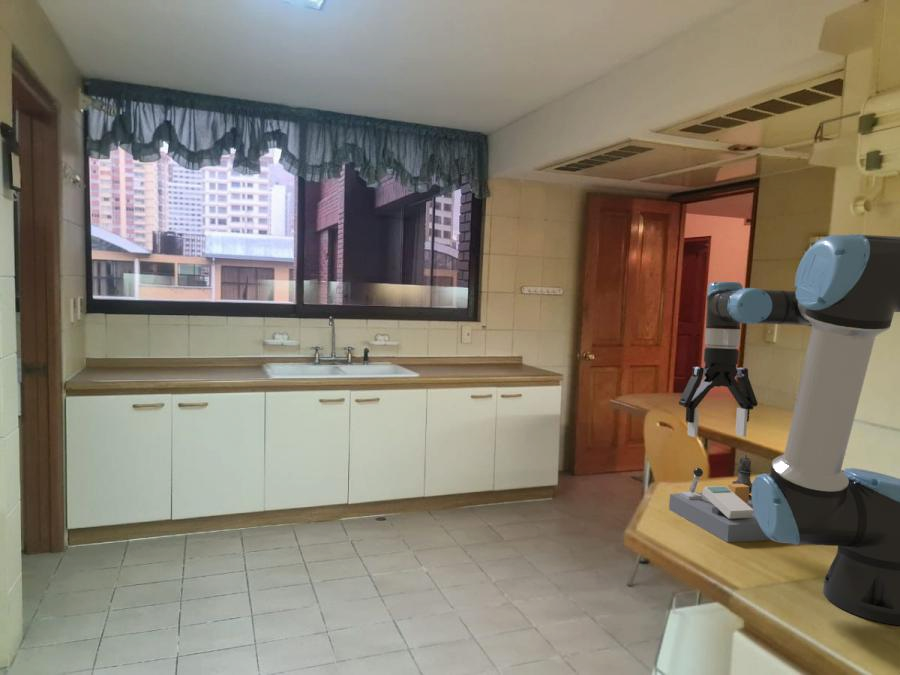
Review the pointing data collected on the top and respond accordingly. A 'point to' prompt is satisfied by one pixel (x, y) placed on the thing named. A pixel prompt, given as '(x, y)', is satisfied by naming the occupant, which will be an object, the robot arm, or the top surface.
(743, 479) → the chess piece
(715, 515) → the panel
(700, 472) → the toggle
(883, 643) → the top surface
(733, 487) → the slider
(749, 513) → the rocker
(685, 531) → the top surface
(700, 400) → the robot arm
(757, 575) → the top surface
